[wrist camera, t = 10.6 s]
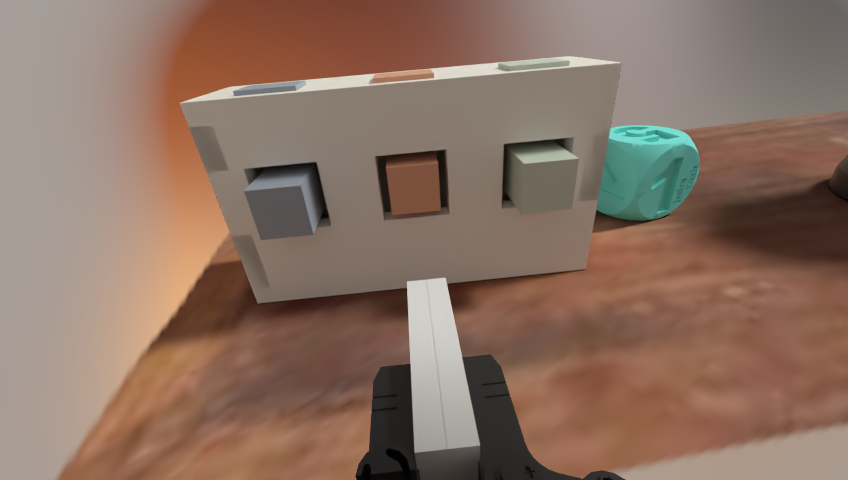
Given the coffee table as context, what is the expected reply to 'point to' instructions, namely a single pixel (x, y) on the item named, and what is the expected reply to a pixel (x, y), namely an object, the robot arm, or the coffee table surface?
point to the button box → (397, 134)
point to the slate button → (286, 200)
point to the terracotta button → (413, 182)
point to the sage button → (539, 176)
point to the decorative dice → (646, 172)
